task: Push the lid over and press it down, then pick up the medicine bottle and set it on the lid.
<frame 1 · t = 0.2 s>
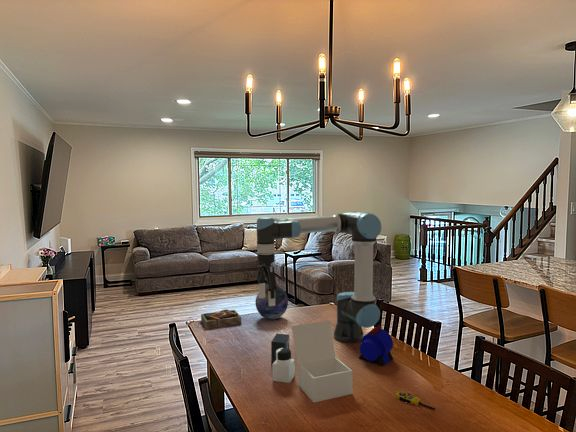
hand: (266, 301, 183), 28 cm above the table, fingers open, 13 cm apart
decorative sphere: (272, 319, 247), on the table
lid: (313, 341, 169), point 16 cm above the table, hinge at 110.0°
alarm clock: (375, 360, 188), on the table
medicine bottle: (283, 378, 171), on the table
filled wooden tray: (221, 322, 242), on the table
yellow black screwdriver: (415, 404, 151), on the table
small box: (280, 360, 189), on the table
carton: (324, 389, 161), on the table
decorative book: (221, 322, 242), resting in filled wooden tray
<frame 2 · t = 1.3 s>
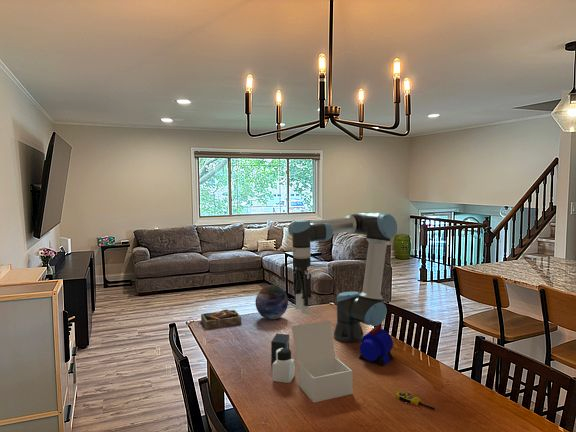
hand: (302, 310, 179), 25 cm above the table, fingers open, 6 cm apart
nothing on the table moved.
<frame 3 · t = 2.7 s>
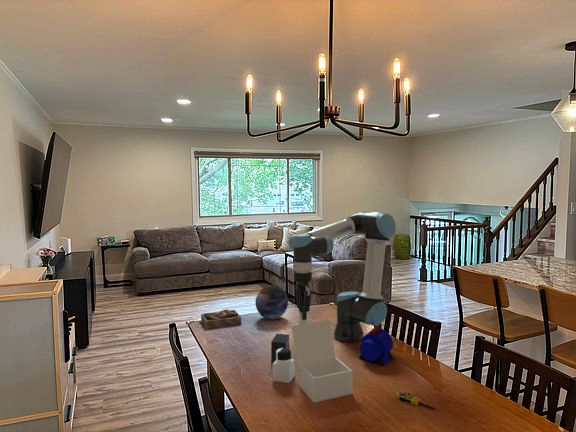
hand: (303, 326, 178), 18 cm above the table, fingers closed
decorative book: (221, 322, 243), resting in filled wooden tray
everything else where it was.
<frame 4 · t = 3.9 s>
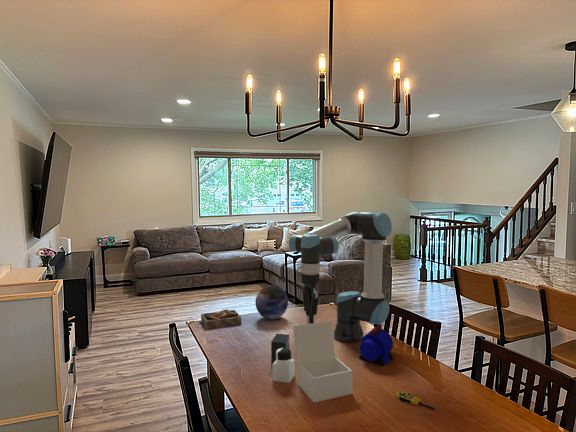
hand: (310, 330, 171), 19 cm above the table, fingers closed
lid: (314, 341, 168), point 16 cm above the table, hinge at 103.9°, touching carton, gripper
everything else where it was.
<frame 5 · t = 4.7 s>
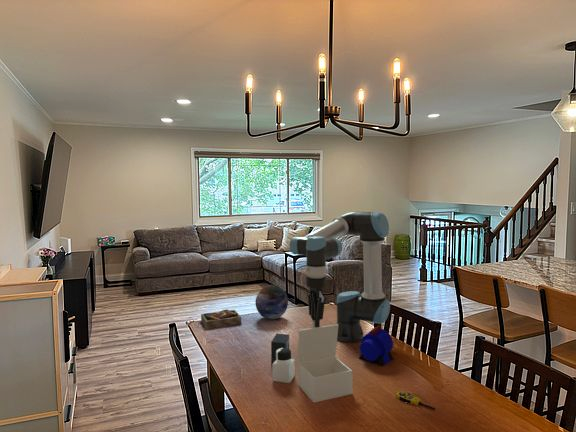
hand: (315, 335, 166), 19 cm above the table, fingers closed
lid: (317, 343, 165), point 16 cm above the table, hinge at 78.7°, touching gripper
everything else where it was.
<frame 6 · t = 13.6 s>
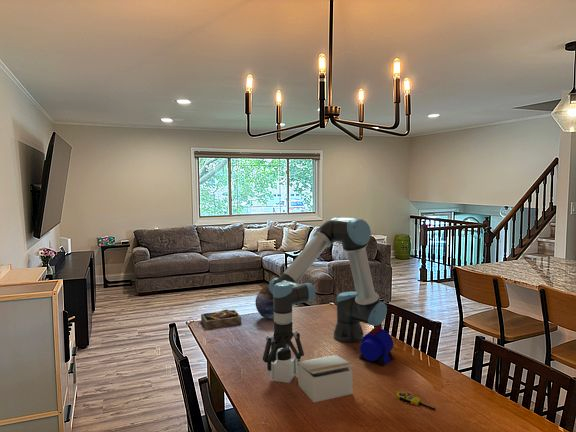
hand: (283, 375, 171), 1 cm above the table, fingers closed on medicine bottle, 10 cm apart
lid: (324, 363, 160), point 10 cm above the table, hinge at 7.0°
medicine bottle: (283, 378, 171), on the table, touching gripper
everything else where it was.
when the fingers open (12 cm above the table, at t = 19.1 s): medicine bottle stays where it is, resting on lid.
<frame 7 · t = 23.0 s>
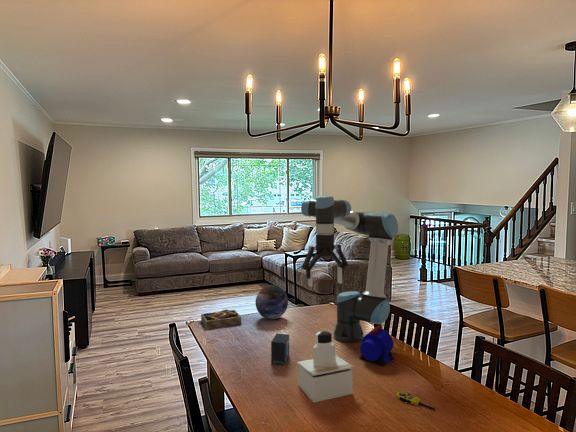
hand: (325, 284, 175), 37 cm above the table, fingers open, 13 cm apart
lid: (324, 364, 160), point 10 cm above the table, hinge at 4.1°, touching carton, medicine bottle
medicine bottle: (324, 364, 160), point 10 cm above the table, touching lid
everything else where it was.
at the end: lid at +4° (first picture: +110°); medicine bottle inside the target area (0.1 cm from its centre), point 10.0 cm above the table; medicine bottle tilted 5° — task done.
